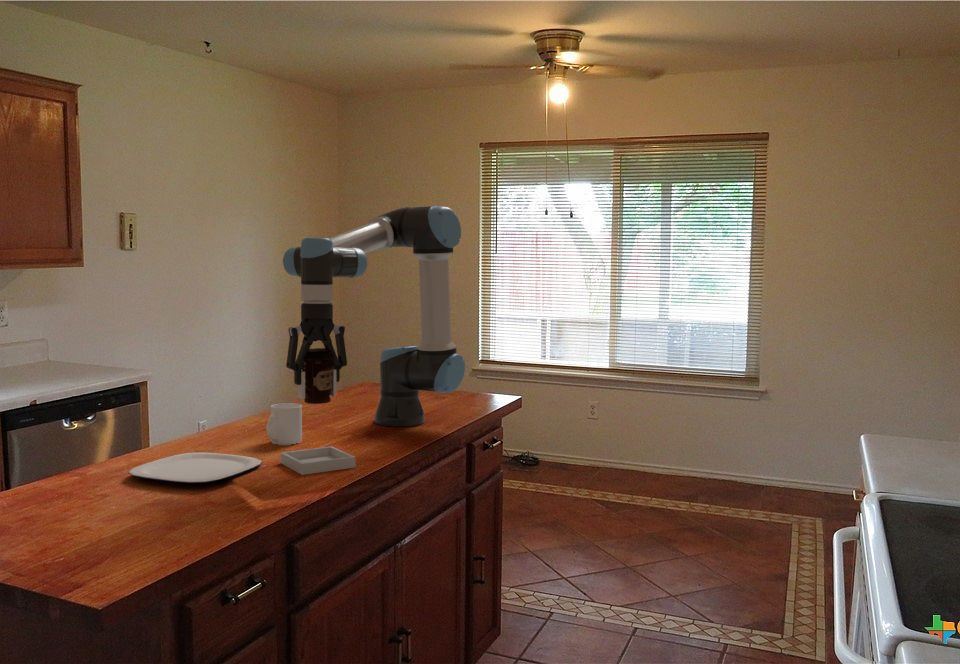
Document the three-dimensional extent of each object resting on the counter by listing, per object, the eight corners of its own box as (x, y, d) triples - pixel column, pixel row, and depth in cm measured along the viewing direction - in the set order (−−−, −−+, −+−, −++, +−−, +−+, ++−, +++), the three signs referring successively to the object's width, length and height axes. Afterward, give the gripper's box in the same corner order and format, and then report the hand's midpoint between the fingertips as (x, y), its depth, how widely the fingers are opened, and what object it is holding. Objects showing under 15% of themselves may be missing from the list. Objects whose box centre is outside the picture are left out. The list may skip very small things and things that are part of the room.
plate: (206, 491, 178) (206, 483, 178) (114, 479, 187) (114, 472, 186) (274, 465, 202) (273, 458, 201) (189, 456, 210) (189, 449, 210)
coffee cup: (342, 400, 202) (341, 348, 201) (325, 406, 194) (324, 352, 193) (311, 398, 205) (310, 346, 204) (293, 404, 197) (292, 350, 196)
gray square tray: (331, 456, 210) (331, 446, 210) (355, 467, 199) (355, 456, 199) (280, 463, 202) (280, 452, 202) (302, 474, 191) (302, 463, 191)
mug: (279, 450, 216) (279, 411, 216) (255, 446, 220) (254, 408, 219) (308, 441, 227) (308, 404, 226) (284, 438, 231) (284, 402, 230)
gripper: (348, 301, 206) (348, 391, 208) (270, 302, 195) (271, 398, 197) (362, 302, 200) (362, 395, 202) (282, 303, 189) (282, 402, 190)
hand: (317, 396), depth 199 cm, fingers closed on coffee cup, 7 cm apart
